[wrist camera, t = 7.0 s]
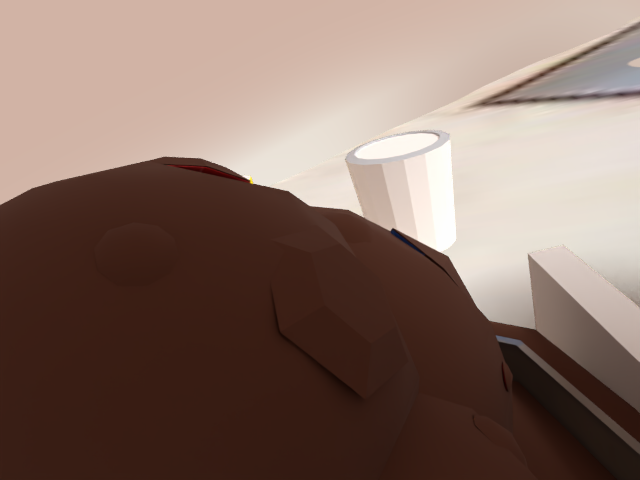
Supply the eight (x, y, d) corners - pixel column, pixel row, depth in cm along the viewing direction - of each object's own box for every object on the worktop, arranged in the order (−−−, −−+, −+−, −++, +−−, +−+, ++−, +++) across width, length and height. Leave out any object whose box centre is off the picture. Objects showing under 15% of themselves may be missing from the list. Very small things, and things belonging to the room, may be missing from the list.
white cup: (485, 226, 38) (471, 126, 35) (427, 272, 34) (406, 163, 31) (405, 217, 43) (388, 129, 40) (346, 256, 39) (323, 161, 36)
